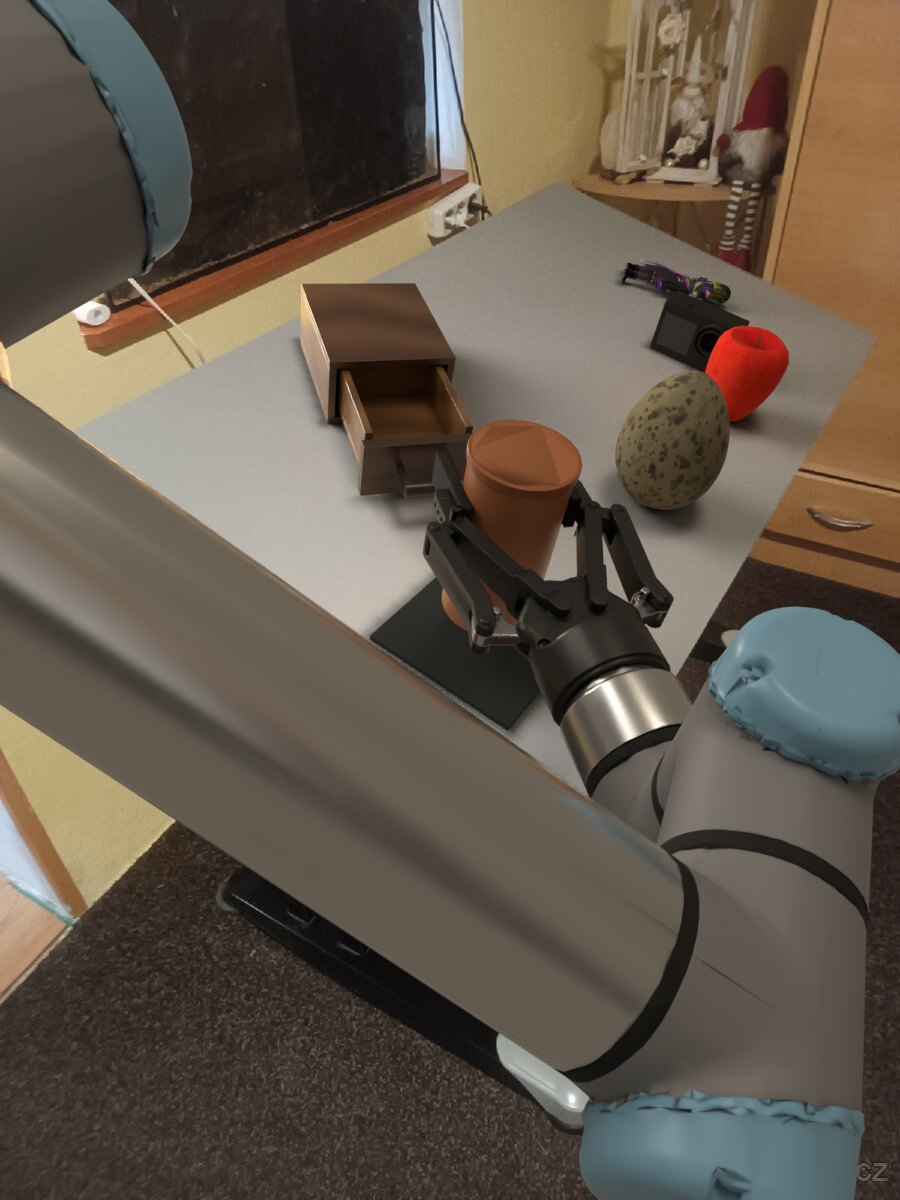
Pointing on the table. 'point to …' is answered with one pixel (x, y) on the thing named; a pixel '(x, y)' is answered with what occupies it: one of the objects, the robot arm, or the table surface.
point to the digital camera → (691, 329)
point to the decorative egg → (674, 441)
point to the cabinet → (367, 333)
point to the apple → (747, 367)
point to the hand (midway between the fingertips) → (491, 462)
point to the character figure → (677, 282)
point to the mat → (458, 658)
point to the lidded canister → (518, 493)
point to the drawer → (401, 426)
